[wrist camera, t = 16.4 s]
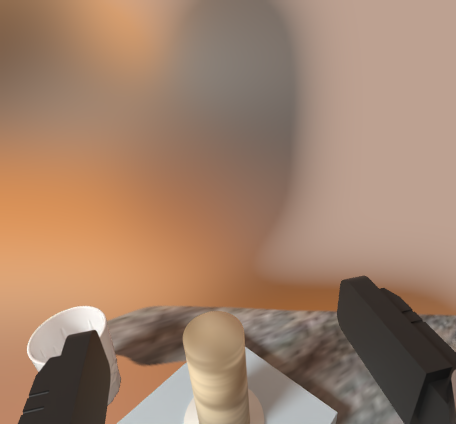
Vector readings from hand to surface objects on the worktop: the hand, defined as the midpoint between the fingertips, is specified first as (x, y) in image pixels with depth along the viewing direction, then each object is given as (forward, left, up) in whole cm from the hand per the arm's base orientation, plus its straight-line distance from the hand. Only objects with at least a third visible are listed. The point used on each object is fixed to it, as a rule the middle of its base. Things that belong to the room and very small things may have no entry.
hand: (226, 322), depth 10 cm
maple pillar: (-6, -9, -25) cm, 27 cm away
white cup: (+1, -25, -28) cm, 38 cm away
